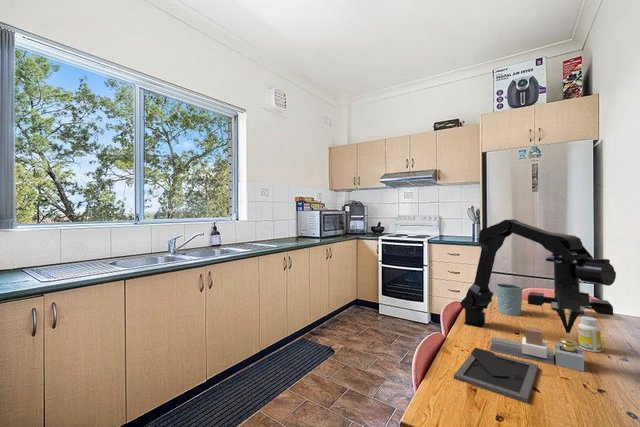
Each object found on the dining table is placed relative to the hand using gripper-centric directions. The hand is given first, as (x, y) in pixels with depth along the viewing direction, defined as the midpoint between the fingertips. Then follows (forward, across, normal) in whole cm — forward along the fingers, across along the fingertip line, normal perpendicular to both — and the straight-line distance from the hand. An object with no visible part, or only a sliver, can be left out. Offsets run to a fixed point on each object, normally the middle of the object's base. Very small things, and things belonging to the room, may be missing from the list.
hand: (567, 332), depth 86 cm
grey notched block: (+9, 0, 0) cm, 9 cm away
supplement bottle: (+9, +6, +16) cm, 19 cm away
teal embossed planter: (+9, -18, +45) cm, 49 cm away
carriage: (+9, -8, 0) cm, 12 cm away
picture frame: (+10, -16, -19) cm, 27 cm away
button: (+6, 0, 0) cm, 6 cm away
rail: (+9, -12, 0) cm, 14 cm away
